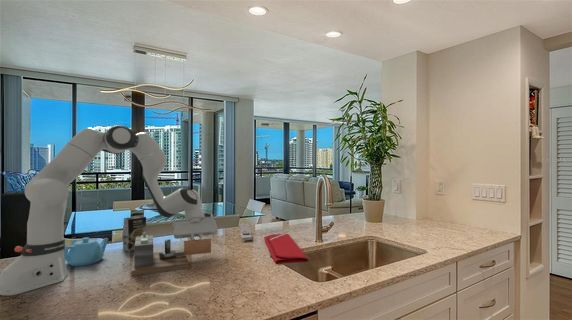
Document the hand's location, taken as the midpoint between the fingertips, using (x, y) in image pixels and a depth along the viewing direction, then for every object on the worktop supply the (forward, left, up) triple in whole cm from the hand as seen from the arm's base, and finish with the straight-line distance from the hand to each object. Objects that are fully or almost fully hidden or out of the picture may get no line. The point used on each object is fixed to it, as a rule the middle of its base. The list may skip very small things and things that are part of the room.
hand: (197, 243), depth 140 cm
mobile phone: (+44, -2, -7) cm, 44 cm away
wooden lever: (-4, +4, -4) cm, 7 cm away
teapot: (-22, +44, -7) cm, 50 cm away
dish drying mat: (+28, -33, -8) cm, 43 cm away
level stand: (-12, +11, -7) cm, 17 cm away
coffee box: (+1, +40, -7) cm, 41 cm away
